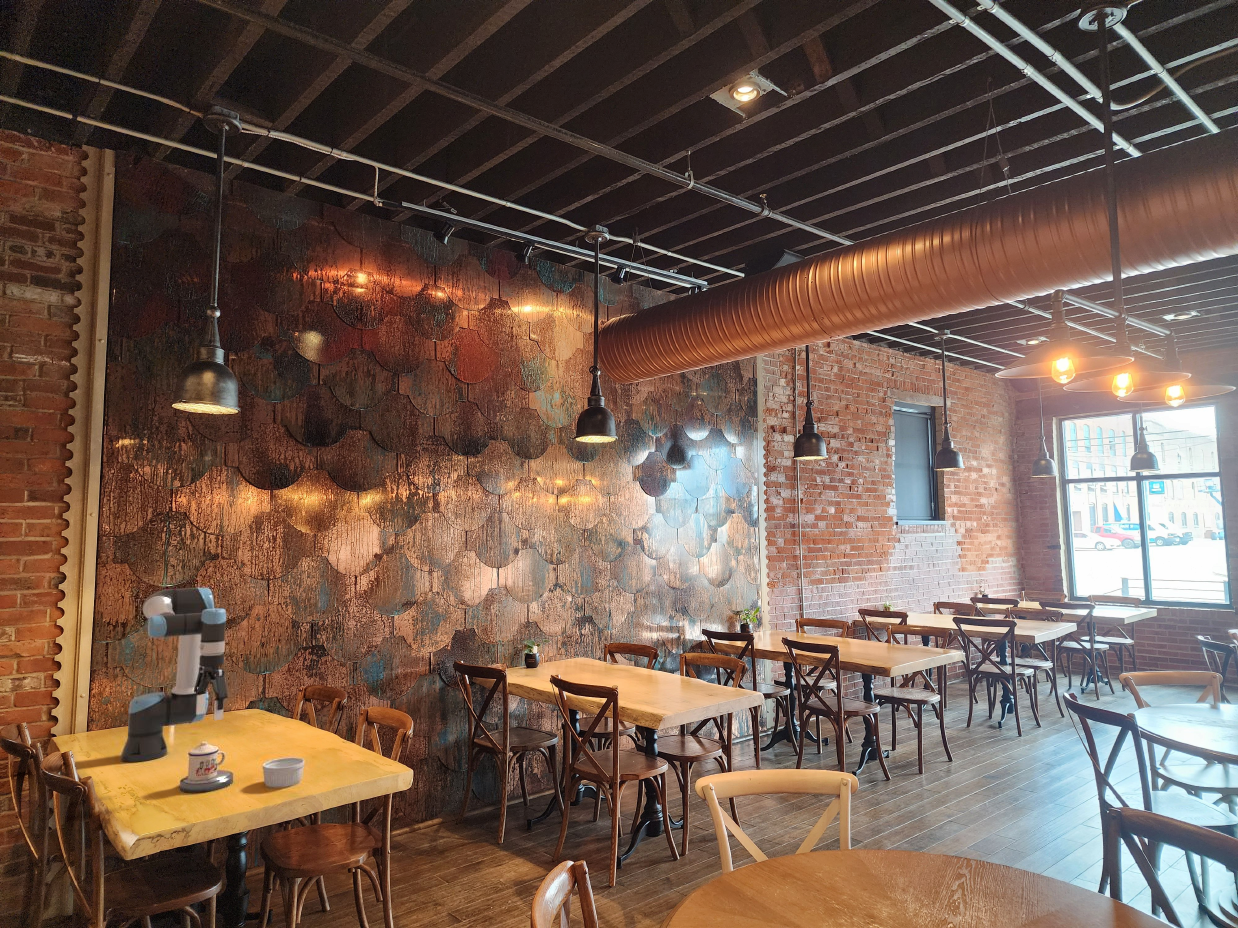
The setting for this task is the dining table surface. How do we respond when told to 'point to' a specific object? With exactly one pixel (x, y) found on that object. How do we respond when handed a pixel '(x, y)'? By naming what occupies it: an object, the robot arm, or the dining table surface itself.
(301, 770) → the ramekin
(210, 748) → the teacup with lid
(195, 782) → the dark gray round plate
